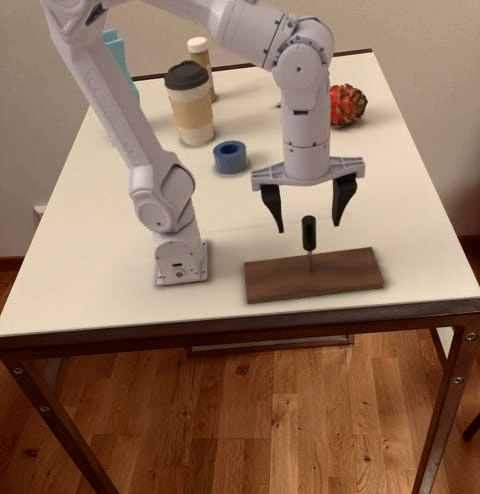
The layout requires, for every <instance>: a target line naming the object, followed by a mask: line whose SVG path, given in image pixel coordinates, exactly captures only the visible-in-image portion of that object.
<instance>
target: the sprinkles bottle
mask: <svg viewBox="0 0 480 494" xmlns="http://www.w3.org/2000/svg"><path fill="white" fill-rule="evenodd" d="M186 45H187V50H188V52H189V57H190V60H193V61H195V62H196V63H198V64H200V65H201V66H202V67H203V68H205V69H207V71H208V75H209V79H208V80H209V88H210V92H211V103H213V102H214V101H215V100H216V99H217V96H216V92H215V86H214V85H215V84H214V83H215V82H214V76H213V70H212V65H211V59H210V53H209V41H208V38H207V37H203V36H197V37H192V38H190V39H188V41H187V42H186Z"/></svg>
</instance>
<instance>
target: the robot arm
mask: <svg viewBox="0 0 480 494" xmlns="http://www.w3.org/2000/svg"><path fill="white" fill-rule="evenodd" d="M38 1H39V3H40V5H41V6H42V8H43V10H44V14H45V18H46V23H47V26H48V30H49V35H50V39H51V41H52V43H53V45H54V47H55V48H56V50H57V52H58V53H59V55H60V57H61V58H62V61H63V62H64V63H65V65H66V67H67V69H68V71H69V72H70V73H71V75H72V77H73V79H74V80H75V82H76V83H77V85H78V87H79V89H80V90H81V92H82V93H83V95H84V97H85V99H86V100H87V102H88V103H89V105H90V107H91V108H92V110H93V111H94V113H95V115H96V117H97V118H98V120H99V121H100V124H101V125H102V126H103V128H104V131H105V132H106V133H107V135H108V137H109V138H110V140H111V141H112V143H113V145H114V148H116V150H117V152H118V153H119V155H120V157H121V158H122V160H123V162H124V163H125V166H126V167H127V168H128V188H127V189H128V190H127V191H128V193H127V194H128V196H129V198H130V199H131V200H132V203H133V206H134V207H133V208H134V213H135V214H134V215H135V216H136V218H137V220H138V222H139V223H141V224H142V225H143V226H144V227H145V228H146V229H148V231H150V232H151V234H152V238H153V242H154V259H155V261H156V264H157V277H156V278H157V279H156V284H157V285H158V286H159V287H161V286H168V285H176V284H177V285H178V284H184V283H192V282H200V281H201V282H202V281H206V280H207V279H208V241H207V239H204V240H203V239H202V237H201V233H200V229H199V224H198V220H197V216H196V212H195V211H196V210H195V207H194V205H193V199H192V196H193V195H194V193H195V191H196V188H197V182H196V178H195V176H194V174H193V172H192V171H191V170H190V169H189V168H188V167H187V166H186V165H184V164H183V163H182V161H181V160H180V159H179V157H178V155H177V153H176V152H174V151H170V150H166V149H164V148H163V147H162V145H161V143H160V140H159V139H158V137H157V135H156V133H155V131H154V129H153V128H152V126H151V124H150V122H149V120H148V119H147V116H146V114H145V113H144V111H143V109H142V107H141V104H140V105H139V104H138V102H137V100H136V98H135V96H134V94H133V92H132V90H131V89H130V87H129V85H128V83H127V81H126V79H125V77H124V75H123V74H122V72H121V70H120V68H119V66H118V64H117V62H116V61H115V59H114V57H113V55H112V53H111V51H110V49H109V47H108V46H107V44H106V42H105V40H104V38H103V35H102V32H104V27H105V24H106V19H107V16H108V12H109V9H110V8H114V7H116V6H121V5H123V4H128V3H130V2H133V1H134V0H38ZM139 1H140V2H143V3H144V4H147V5H149V6H152V7H154V8H156V9H159V10H162V11H163V12H166V13H169V14H171V15H173V16H176V17H178V18H181V19H183V20H185V21H188V22H191V23H193V24H195V25H197V26H201V28H205V29H207V31H208V33H209V35H210V37H211V41H212V42H213V44H214V46H215V47H217V48H218V49H221V50H223V51H225V52H227V53H228V54H231V55H233V56H235V57H236V58H237V57H238V58H240V59H241V60H243V61H246V62H248V63H249V64H251V65H254V66H256V67H258V68H260V69H262V70H264V71H266V72H268V73H271V74H272V75H271V76H272V78H273V80H274V82H275V83H276V85H277V87H278V88H279V89H280V103H281V106H280V117H281V134H282V151H283V152H282V153H283V161H280V162H278V163H275V164H272V165H268V166H266V167H263V168H260V169H254V170H250V171H249V174H250V176H249V177H250V183H251V184H250V185H251V192H253V193H255V192H259V191H260V196H261V197H260V198H261V201H262V203H263V205H264V206H265V207H266V208H267V209H268V211H269V213H270V214H271V216H272V218H273V219H274V221H275V223H276V226H277V230H278V233H279V234H284V233H285V227H284V220H283V215H282V214H283V213H282V212H283V211H282V197H281V190H280V186H290V187H291V186H292V187H314V186H317V185H320V184H323V183H326V182H328V181H332V202H331V203H332V204H331V220H332V224H333V227H334V228H335V227H339V226H340V224H341V220H342V218H343V214H344V212H345V210H346V207H347V206H348V204H349V203H350V201H351V199H352V198H353V197H354V196H355V195H356V194H357V190H358V182H357V179H364V178H365V176H366V162H365V159H364V156H355V157H354V156H334V155H331V123H330V111H331V97H330V93H329V91H330V87H331V80H330V71H329V69H330V65H331V63H332V60H333V57H334V53H335V38H334V34H333V32H332V30H331V28H330V27H329V26H328V25H327V24H326V22H323V21H322V20H321V19H320V18H319V17H318V16H316V15H304V16H301V17H300V15H299V14H298V13H296V12H294V11H290V13H285V12H283V11H282V10H280V9H278V8H277V7H274V6H272V5H270V4H268V3H267V2H264V1H262V0H139Z"/></svg>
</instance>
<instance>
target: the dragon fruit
mask: <svg viewBox="0 0 480 494" xmlns="http://www.w3.org/2000/svg"><path fill="white" fill-rule="evenodd" d="M353 88H355V89H353ZM329 93H330V97H331V111H330V124H335V126H334V127H335V128H336V129H339V128H341V127H343V126H344V124H345V125H351V124H352V122H353V121H354V120H360V119H362V116H363V115H364V114H365V111H366V109H367V105H368V103H369V99H367V96H366V95H365V94H364V93H363V92H362V90H361V89H358V88H357V87H354V86H353V85H351V84H349V83H348V82H347V83H344V84H341V85H339V84H333V85H330V91H329Z"/></svg>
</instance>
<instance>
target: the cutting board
mask: <svg viewBox="0 0 480 494" xmlns="http://www.w3.org/2000/svg"><path fill="white" fill-rule="evenodd" d="M312 264H313V272H309V267H308V262H307V254H301V255H293V256H285V257H276V258H268V259H261V260H253V261H245V262H243V267H244V268H243V270H244V282H245V296H246V303H247V304H248V305H249V304H257V303H266V302H274V301H282V300H283V301H284V300H292V299H300V298H307V297H309V298H310V297H317V296H324V295H325V296H326V295H333V294H342V293H349V292H350V293H351V292H360V291H367V290H368V291H369V290H376V289H383V288H384V285H385V282H384V278H383V276H382V272H381V270H380V267H379V264H378V261H377V258H376V254H375V252H374V249H373V246H367V247H359V248H350V249H342V250H334V251H326V252H318V253H317V252H316V253H312Z"/></svg>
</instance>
